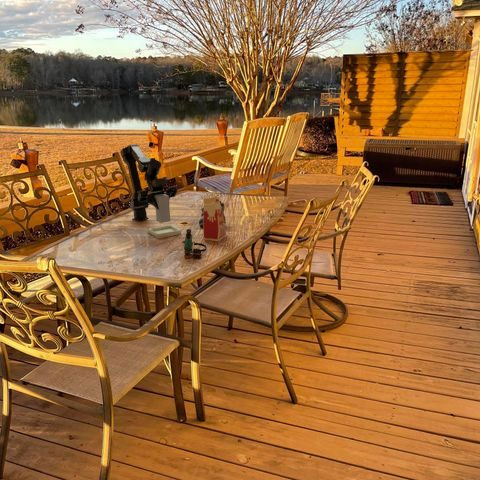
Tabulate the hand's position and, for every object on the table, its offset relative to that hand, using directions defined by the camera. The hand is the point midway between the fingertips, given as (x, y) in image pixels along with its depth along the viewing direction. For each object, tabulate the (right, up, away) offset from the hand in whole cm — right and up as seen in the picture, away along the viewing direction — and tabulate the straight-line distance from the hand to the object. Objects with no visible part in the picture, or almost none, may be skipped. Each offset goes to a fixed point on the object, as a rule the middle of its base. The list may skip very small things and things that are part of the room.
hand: (163, 208), depth 215 cm
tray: (0, -12, +5) cm, 13 cm away
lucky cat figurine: (+22, -8, +17) cm, 29 cm away
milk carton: (+24, -14, -3) cm, 28 cm away
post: (-1, -6, +3) cm, 7 cm away
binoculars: (+18, -22, -27) cm, 39 cm away
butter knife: (+5, -24, -32) cm, 41 cm away
